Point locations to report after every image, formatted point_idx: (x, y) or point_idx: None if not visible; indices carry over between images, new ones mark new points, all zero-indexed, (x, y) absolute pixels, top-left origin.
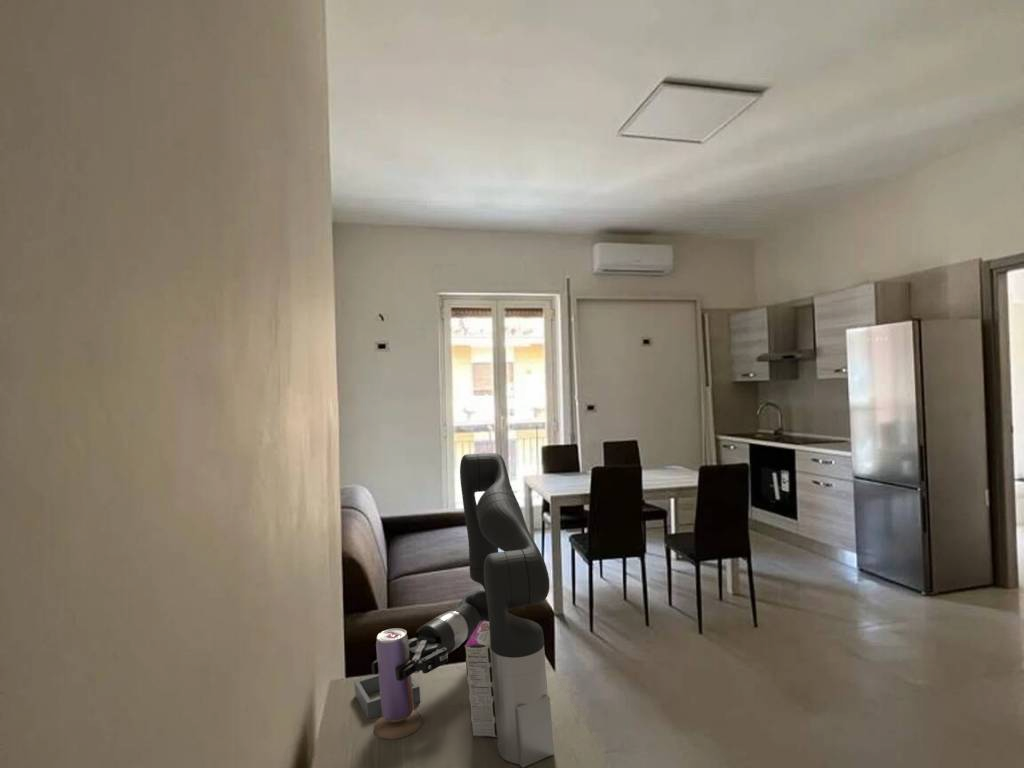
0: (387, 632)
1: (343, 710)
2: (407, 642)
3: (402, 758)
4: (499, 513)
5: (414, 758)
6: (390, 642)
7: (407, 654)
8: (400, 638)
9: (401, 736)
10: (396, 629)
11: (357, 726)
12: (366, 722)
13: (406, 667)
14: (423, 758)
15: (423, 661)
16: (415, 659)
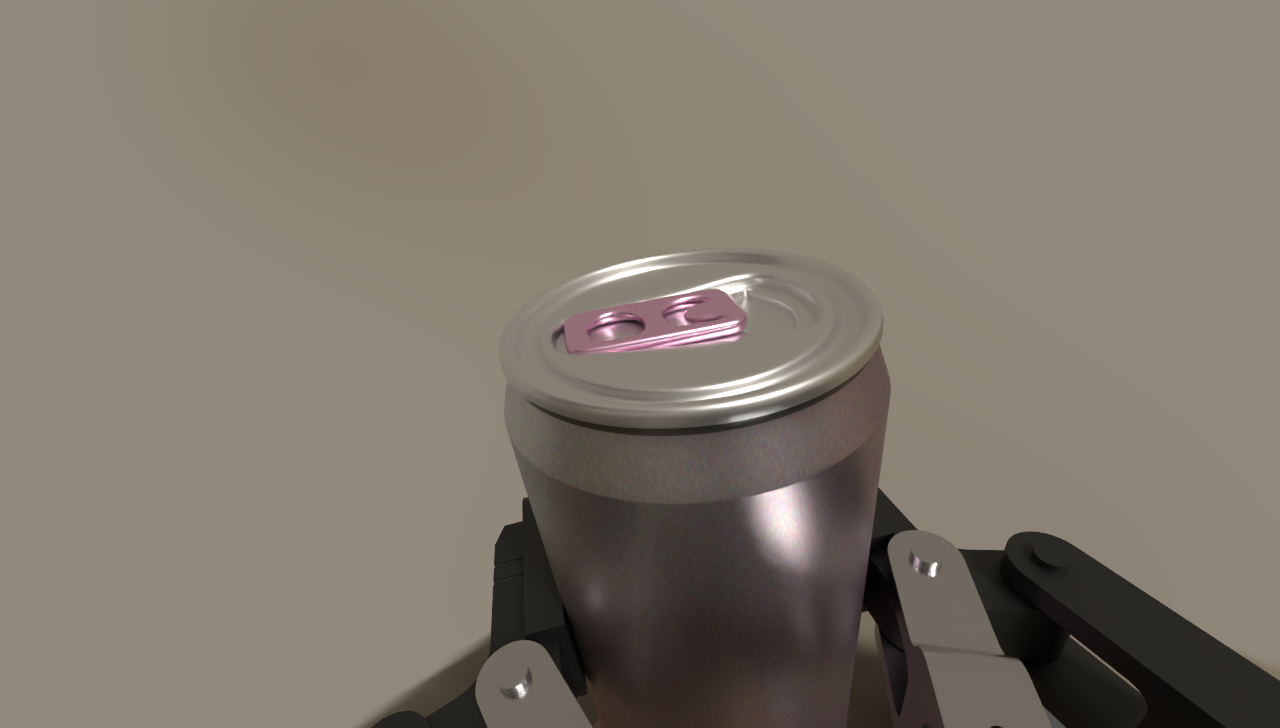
0: (821, 312)
1: (1082, 645)
2: (526, 476)
3: (488, 643)
4: None
5: (439, 677)
6: (562, 297)
7: (549, 558)
8: (505, 334)
9: (597, 719)
10: (823, 372)
11: (859, 626)
12: (871, 674)
13: (520, 567)
14: (399, 704)
15: (390, 723)
16: (501, 669)
